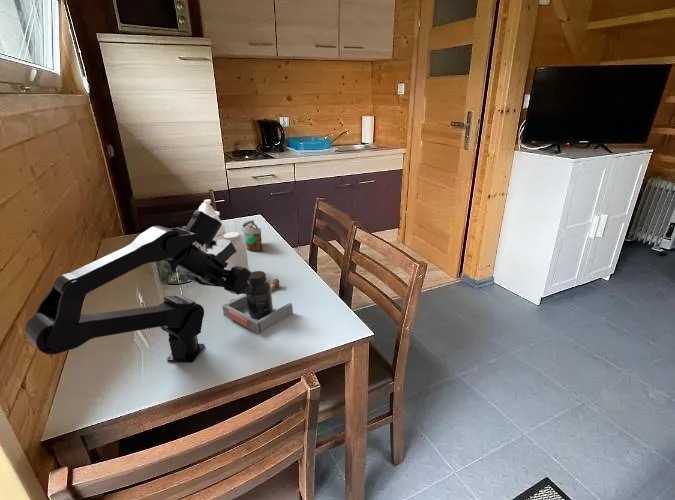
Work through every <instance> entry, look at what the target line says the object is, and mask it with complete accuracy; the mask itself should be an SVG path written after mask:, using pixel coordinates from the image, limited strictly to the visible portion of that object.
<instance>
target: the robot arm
mask: <svg viewBox="0 0 675 500" xmlns="http://www.w3.org/2000/svg"><path fill="white" fill-rule="evenodd" d="M222 224H223V223H222ZM222 224H221V223H220V222H219V221H218V220H217V219H214V218H212V217H211V216H209V215H207V214H205V213H203V212H202V211H199V210H198V209H196V210H195V211H194V212H193V213H192V216H191V219H190V220H189V221H188V223H187V224H186V225H185V228H184V229H183V228H179V227H172V228H169V227H164V226H161V225H153V226H151V227H148V229H146V230H145V231H143V232H141V233H140V234H139V235H137V236H136V238H135V239H134V240H133V241H132V242H130V243H129V244H128V245H126V246H124V247H122V248H120V249H118V250H115V251H113V252H111V253H109V254H107V255H105V256H103V257H100V258H99V259H97V260H94V261H92V262H90V263H88V264H86V265H84V266H81V267H79V268H76V269H75V270H73V271H71V272H68V273H64V274H61V275H59V276H58V277H57V278H56V279H55V281H54V282H53V284H52V285H51V286H52V287H51V289H50V291H49V292H48V293H47V294H46V295H45V296H44V298H43V299H42V300H41V301H40V303H38V307H37V309H36V311H35V313H34V315H33V316H32V317H31V318H29V319H28V320H27V322H26V324H25V326H24V336H26V338H27V339H28V340H29V341H30V343H32V345H34V346H35V347H36V348H37V349H38V350H39V351H40V352H42V353H43V354H45V355H50V356H52V355H58V354H63V353H64V352H65V353H66V352H68V351H71V350H74V349H78V348H79V347H81V346H83V345H84V344H86V343H87V342H88V341H91V340H93V339H97V338H98V339H99V338H101V337H102V338H103V337H109V336H113V335H114V336H115V335H121V334H125V333H131V332H138V331H143V330H149V329H154V328H159V327H160V328H161V330H162V331H163V332H165V333H168V343H169V347H170V351H171V353H170V354H169V355H168V356H167V358H166V360H167V362H177V363H178V362H179V363H180V362H181V363H182V362H183V363H193V362H195V360H196V359H197V357H198V356H199V355H200V353H201V352H202V351H203V349H204V348H205V343H199V340H198V335H199V334H201V332H202V325H203V321H204V320H203V319H204V317H205V309H204V307H203V306H202V304H199V303H197V302H195V301H194V300H193V299H190V298H188V297H186V296H185V295H182V294H180V293H178V294H175V295H171V296H170V295H164V296H163V301H162V302H161V303H160V304H159V305H154V306H146V307H139V308H131V309H130V308H129V309H122V310H114V311H113V310H112V311H106V312H98V313H90V314H83V313H82V308H83V302H84V299H85V298H86V295H87V294H89V293H90V292H93V291H94V290H96V289H98V288H100V287H102V286H104V285H106V284H108V283H110V282H112V281H114V280H116V279H118V278H120V277H121V276H124V275H125V274H127V273H129V272H131V271H133V270H135V269H138V268H140V267H141V266H143V265H146V264H151V263H155V262H162V261H163V268H164V269H166V270H167V271H170V272H173V273H174V272H175V271H176V269H177V268H178V267H179V268H181V269H183V270H185V271H186V279H187V280H189V281H190V282H192V283H195V284H199V285H201V286H211V287H219V288H223V289H224V290H225V291H226V292H229V293H231V294H234V295H237V296H240V295H245V294H251V293H252V291H253V290H252V288H251V287H250V285H249V283H248V279H249V277H250V275H251V270H248V269H246V268H243V267H239V266H235V267H232V269H231V270H226V269H224V268H226V267H227V265H228V263H227V262H225V261H227V260H228V259H229V258H230V257H231V256H232V255H233V254H235V253H236V251H237V250H236V249H235V247H234V245H233V244H232V242H231V241H230V240H225V239H220V240H216V241H217V242H216V241H214V240H213V238H214V237H215V235H216V234H217V232H218V230H219V229H220V227H221V226H222ZM194 244H195V245H194ZM196 244H197V246H199V247H201V248H204V247H205V250H206V252H205V251H203V250H202V249H200V248H199V247H197V246H196ZM204 244H205V246H204Z"/></svg>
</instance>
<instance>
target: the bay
mask: <svg viewBox="0 0 675 500" xmlns="http://www.w3.org/2000/svg"><path fill="white" fill-rule="evenodd" d="M234 299H235V300H232V299H231V300H232V301H230V300H229V302H225V304H224V303H223V305H222V312H223V315H224V316H226V317H227V318H229V319H230V320H232V321H234V322H236V323H238V324H239V325H241V326H242V327H245V328H247V329H249V330H250V331H252V332H253V333H256V334H260V333H262V332H264V331H265V330H267V329H268V328H271V327H272V326H273V325H275V324H277V323H278V322H280V321H283V320H284V319H285V318H287V317H289V316H291V315H293V314H294V311H293V303H291V302H288V303H287V304H285V305H283V306H281V307H279V308H277V309H276V310H273V312H272V313H270V314H269V315H267V316H265V317H263V318H260V319H256V318H253V317H251V316H250V315H247V314H245V313H243V312H241V311H240V309H242V308H244V307H247V298H246V294H242V295H241V296H239V297H237V298H234Z"/></svg>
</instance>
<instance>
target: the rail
mask: <svg viewBox="0 0 675 500" xmlns="http://www.w3.org/2000/svg"><path fill="white" fill-rule="evenodd" d="M270 286H271V292H273V291H275V290H277V289H280V287H281V285H280V280H279V279H278V278H273V279H272V280H271V283H270ZM235 299H236V298H233V299H230V300H229V302H230V301H232V300H235Z"/></svg>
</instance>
